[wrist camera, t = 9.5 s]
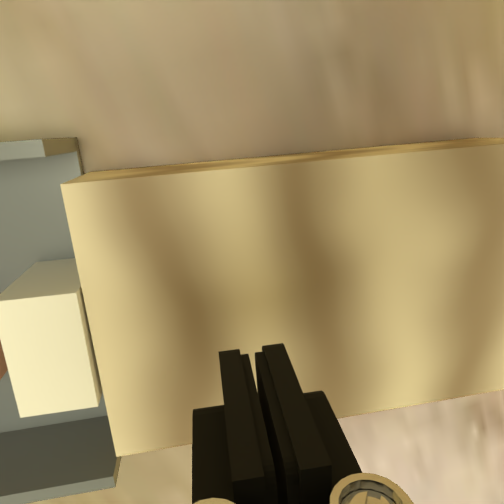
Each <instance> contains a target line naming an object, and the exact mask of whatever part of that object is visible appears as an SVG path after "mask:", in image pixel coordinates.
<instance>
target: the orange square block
mask: <svg viewBox="0 0 504 504" xmlns="http://www.w3.org/2000/svg"><path fill="white" fill-rule="evenodd" d="M7 370H8V368H7V364H6V360H5V356H4V352H3V348H2V344H1V341H0V380H1V378H2V377H3V376H4V374H5V373H6V372H7Z"/></svg>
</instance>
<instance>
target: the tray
mask: <svg viewBox="0 0 504 504" xmlns="http://www.w3.org/2000/svg"><path fill="white" fill-rule="evenodd" d="M81 175H84V173H83V168H82V163H81V158H80V152H79V147H78V142H77V138H54V139H36V140H23V141H10V142H0V294H1V293H2V292H3V291H4V290H5V289H6V288H7V287H9V286H10V285H11V284H12V283H13V282H14V281H15V280H17V279H18V278H19V277H20V276H21V275H22V274H23V273H24V272H26V271H27V270H28V269H29V268H30V267H31V266H32V265H34V264H35V263H36V262H41V261H52V260H62V259H72V258H75V254H74V249H73V244H72V239H71V235H70V230H69V225H68V220H67V215H66V210H65V205H64V201H63V196H62V191H61V186H60V184H62V183H65V182H67V181H69V180H72V179H74V178H77V177H79V176H81ZM120 461H121V456H119V457H116V453H115V448H114V443H113V438H112V434H111V429H110V424H109V419H108V414H107V409H106V404H105V400H104V395H103V392H102V396H101V399H100V402H99V405H98V407H92V408H85V409H78V410H71V411H64V412H57V413H50V414H43V415H36V416H30V417H23V418H20V415H19V411H18V407H17V403H16V399H15V395H14V391H13V387H12V383H11V380H10V376H9V372H8V370H7V372H6V373H5V374H4V376H3V377H2V378H1V380H0V504H26V503H31V502H37V501H42V500H48V499H53V498H58V497H64V496H69V495H75V494H80V493H86V492H91V491H97V490H102V489H108V488H113V487H116V482H117V476H118V471H119V466H120Z"/></svg>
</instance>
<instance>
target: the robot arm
mask: <svg viewBox="0 0 504 504" xmlns="http://www.w3.org/2000/svg"><path fill="white" fill-rule="evenodd" d="M218 353H219V362H220V372H221V381H222V391H223V400H224V405H219V406H212V407H205V408H198V409H193V414H192V504H414V503H413V502H412V500H411V499H410V498H409V496H408V495H407V494H406V493H405V492H404V491H403V490H402V489H401V488H400V487H399V486H398V485H397V484H395V483H394V482H392V481H391V480H389V479H387V478H385V477H382V476H379V475H376V474H370V473H362V471H361V469H360V467H359V465H358V463H357V460H356V458H355V456H354V454H353V452H352V450H351V448H350V446H349V443H348V441H347V439H346V437H345V435H344V433H343V431H342V429H341V427H340V424H339V422H338V420H337V418H336V416H335V414H334V412H333V410H332V407H331V405H330V403H329V401H328V399H327V397H326V395H325V393H324V392H323V391H322V390H321V391H314V392H307V393H303V391H302V389H301V386H300V384H299V381H298V379H297V376H296V374H295V371H294V368H293V366H292V363H291V361H290V358H289V356H288V353H287V351H286V348H285V346H284V344H283V343H279V344H272V345H264V346H262V352H255V367H256V379H257V389H256V384H255V380H254V376H253V371H252V367H251V363H250V358H249V354H240V350H239V349H234V350H227V351H219V352H218ZM257 392H258V393H257Z"/></svg>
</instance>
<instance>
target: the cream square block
mask: <svg viewBox="0 0 504 504" xmlns="http://www.w3.org/2000/svg"><path fill="white" fill-rule="evenodd" d="M0 341H1V344H2V348H3V352H4V356H5V360H6V364H7V368H8V372H9V376H10V380H11V383H12V387H13V391H14V395H15V399H16V403H17V407H18V411H19V415H20V418H23V417H30V416H36V415H43V414H50V413H57V412H64V411H71V410H78V409H85V408H92V407H98V405H99V402H100V399H101V396H102V392H103V390H102V385H101V380H100V375H99V370H98V366H97V361H96V356H95V351H94V346H93V341H92V336H91V332H90V327H89V322H88V317H87V312H86V307H85V303H84V298H83V293H82V288H81V283H80V278H79V273H78V269H77V264H76V259H75V258H72V259H62V260H52V261H41V262H36V263H35V264H34V265H32V266H31V267H30V268H29V269H28V270H27V271H26V272H24V273H23V274H22V275H21V276H20V277H19V278H18V279H17V280H15V281H14V282H13V283H12V284H11V285H10V286H9V287H7V288H6V289H5V290H4V291H3V292H2V293H1V294H0Z"/></svg>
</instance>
